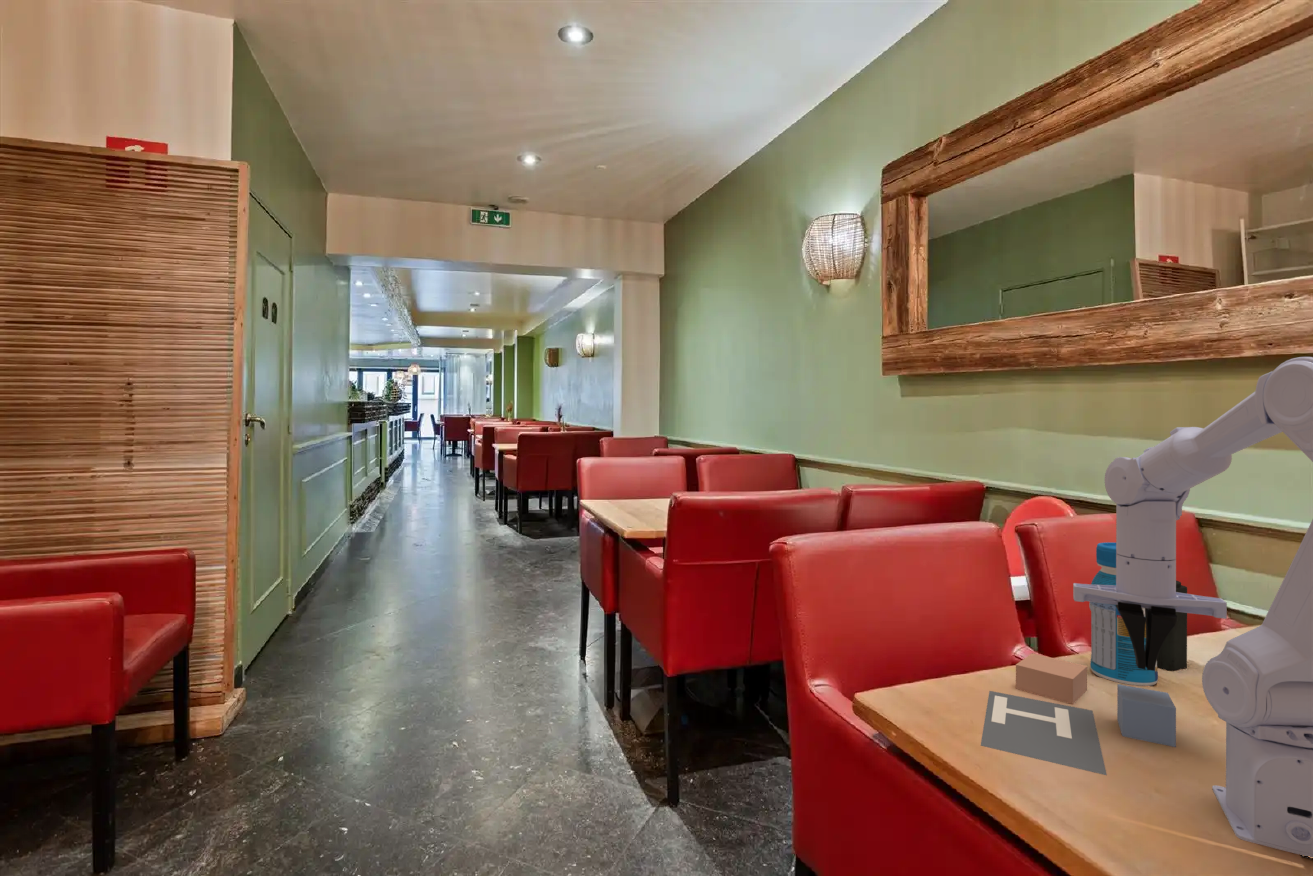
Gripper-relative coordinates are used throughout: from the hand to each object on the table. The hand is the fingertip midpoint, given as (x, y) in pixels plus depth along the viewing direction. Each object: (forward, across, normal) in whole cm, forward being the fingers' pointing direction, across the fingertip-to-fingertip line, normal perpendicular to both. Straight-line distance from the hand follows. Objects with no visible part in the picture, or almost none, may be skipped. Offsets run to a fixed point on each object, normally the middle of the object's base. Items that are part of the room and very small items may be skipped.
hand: (1145, 667), depth 75 cm
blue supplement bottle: (+9, 0, -21) cm, 23 cm away
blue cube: (+8, 0, 0) cm, 8 cm away
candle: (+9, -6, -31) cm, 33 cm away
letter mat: (+8, +11, +5) cm, 15 cm away
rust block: (+9, +9, -9) cm, 16 cm away
